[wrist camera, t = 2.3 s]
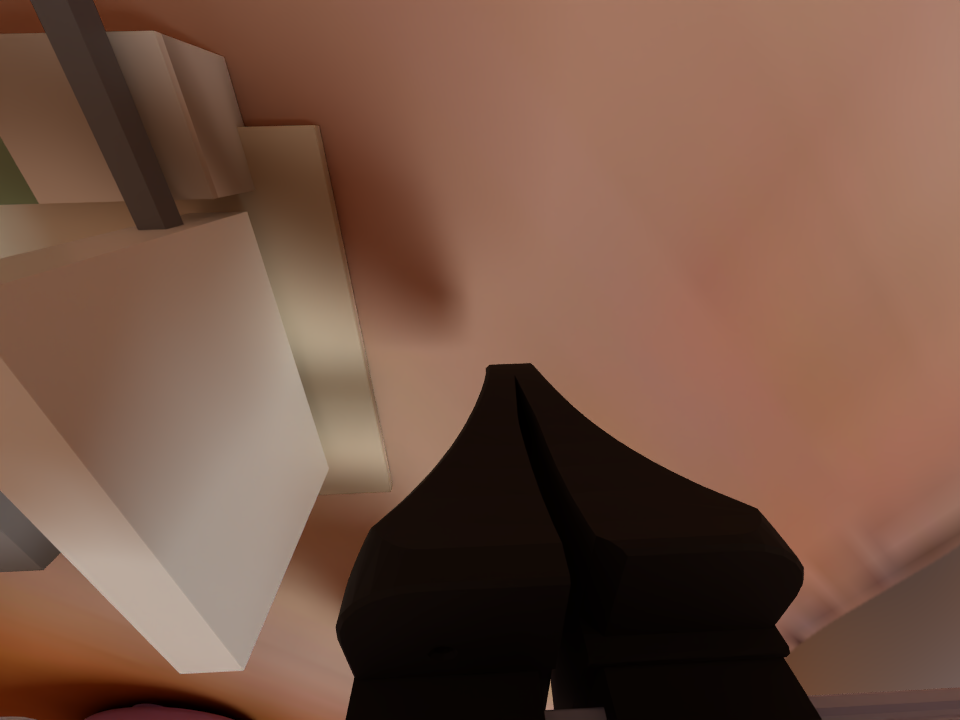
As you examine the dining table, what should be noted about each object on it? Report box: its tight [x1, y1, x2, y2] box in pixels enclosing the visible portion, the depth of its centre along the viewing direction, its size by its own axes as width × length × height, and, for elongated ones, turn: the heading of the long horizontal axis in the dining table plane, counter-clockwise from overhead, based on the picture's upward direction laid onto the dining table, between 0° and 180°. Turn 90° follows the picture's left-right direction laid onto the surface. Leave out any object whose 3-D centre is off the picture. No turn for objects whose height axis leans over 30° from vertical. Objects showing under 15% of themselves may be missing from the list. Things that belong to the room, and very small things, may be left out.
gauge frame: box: [0, 31, 392, 572], centre depth 11 cm, size 16×14×4 cm
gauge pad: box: [0, 0, 329, 674], centre depth 9 cm, size 14×2×7 cm, turn 1°
